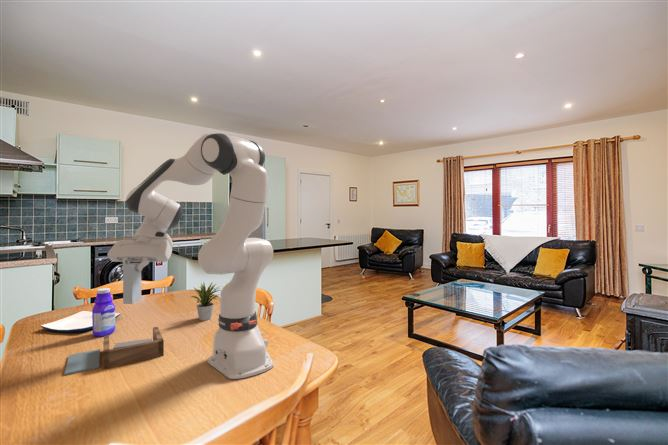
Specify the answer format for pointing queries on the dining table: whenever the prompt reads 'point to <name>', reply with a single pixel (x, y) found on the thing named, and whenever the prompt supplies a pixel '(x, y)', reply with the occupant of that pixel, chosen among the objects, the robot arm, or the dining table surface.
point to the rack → (133, 351)
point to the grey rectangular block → (131, 284)
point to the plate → (73, 323)
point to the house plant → (205, 301)
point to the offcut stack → (131, 343)
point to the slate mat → (82, 362)
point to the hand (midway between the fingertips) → (131, 270)
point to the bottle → (103, 313)
